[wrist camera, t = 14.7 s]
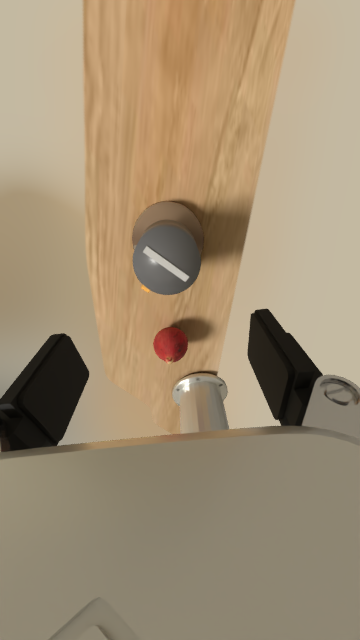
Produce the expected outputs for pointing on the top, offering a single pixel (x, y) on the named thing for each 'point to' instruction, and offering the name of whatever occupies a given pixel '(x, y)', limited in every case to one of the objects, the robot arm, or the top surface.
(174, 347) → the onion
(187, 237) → the grey striped cylinder
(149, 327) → the top surface
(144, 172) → the top surface
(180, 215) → the post base
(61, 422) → the robot arm
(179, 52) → the top surface
